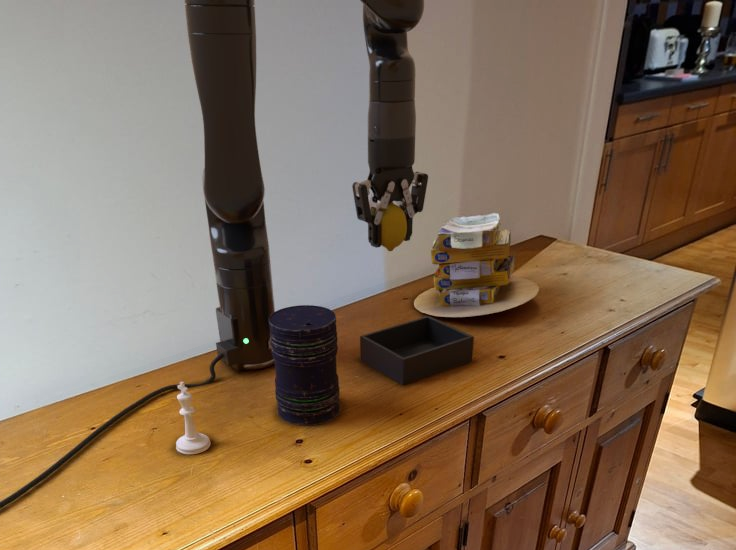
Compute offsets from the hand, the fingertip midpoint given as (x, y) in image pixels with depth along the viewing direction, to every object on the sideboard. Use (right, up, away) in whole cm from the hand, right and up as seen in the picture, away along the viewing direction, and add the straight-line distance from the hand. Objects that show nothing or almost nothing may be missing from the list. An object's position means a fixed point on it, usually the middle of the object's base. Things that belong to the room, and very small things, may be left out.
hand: (390, 242), depth 121 cm
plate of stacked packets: (+19, -4, +24) cm, 30 cm away
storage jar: (-13, -30, -11) cm, 35 cm away
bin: (+5, -20, +2) cm, 20 cm away
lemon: (0, -1, +1) cm, 2 cm away
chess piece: (-30, -37, -19) cm, 51 cm away
